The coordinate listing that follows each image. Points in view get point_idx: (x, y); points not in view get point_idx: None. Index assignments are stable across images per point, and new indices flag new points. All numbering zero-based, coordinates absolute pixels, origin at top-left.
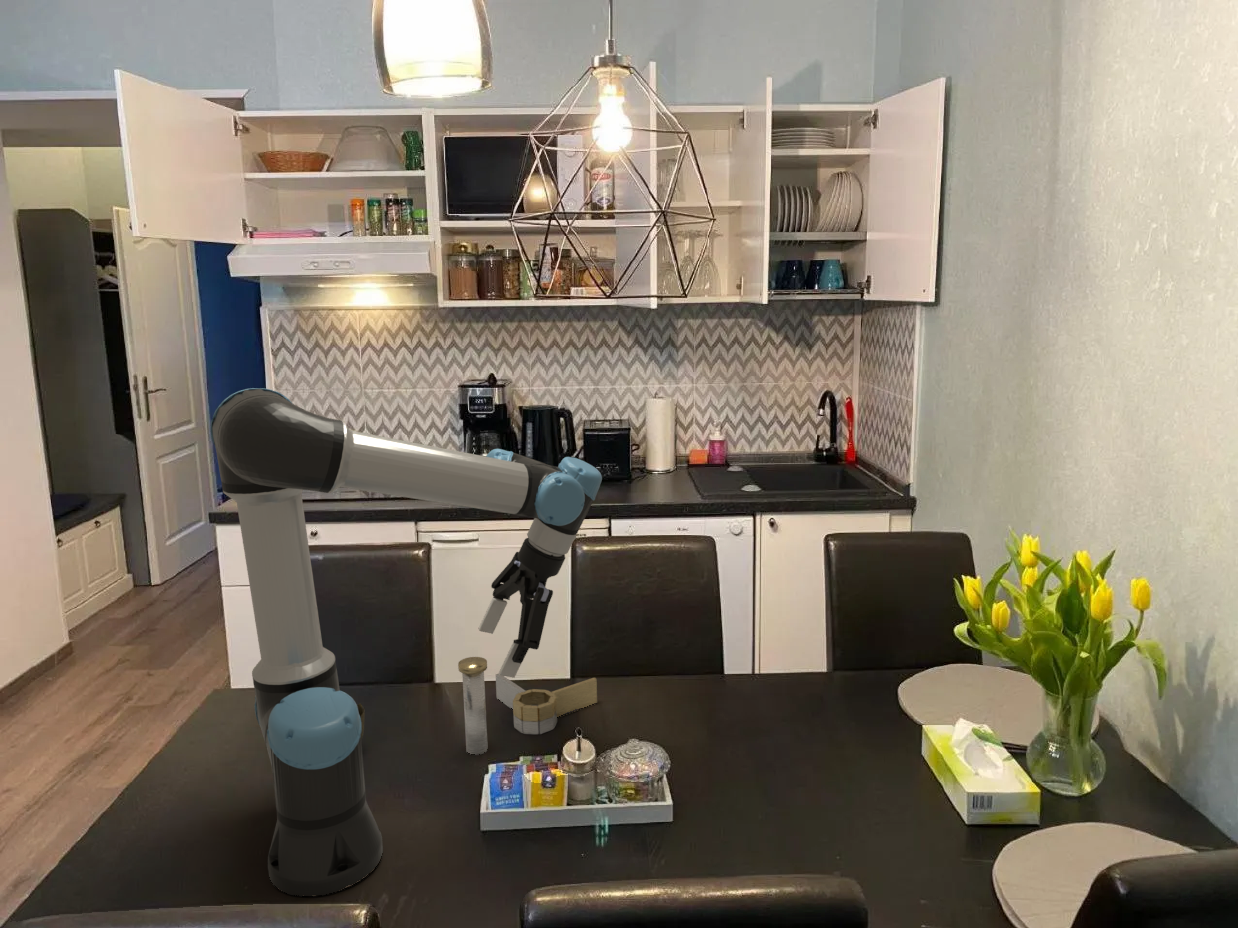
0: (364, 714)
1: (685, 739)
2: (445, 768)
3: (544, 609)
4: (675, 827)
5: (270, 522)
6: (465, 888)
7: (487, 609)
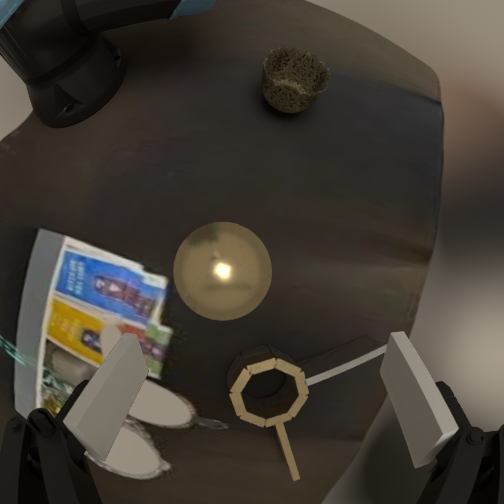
0: (291, 95)
1: (151, 499)
2: (182, 213)
3: None
4: (8, 405)
5: None
6: None
7: (434, 386)
